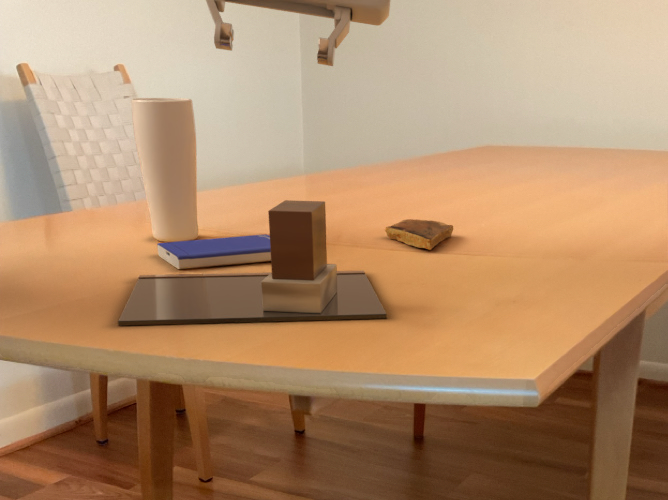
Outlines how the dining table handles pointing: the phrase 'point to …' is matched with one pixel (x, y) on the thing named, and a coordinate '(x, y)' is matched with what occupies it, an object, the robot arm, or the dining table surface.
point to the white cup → (168, 165)
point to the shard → (419, 232)
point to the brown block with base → (298, 259)
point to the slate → (237, 300)
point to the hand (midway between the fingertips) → (274, 55)
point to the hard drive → (216, 251)
